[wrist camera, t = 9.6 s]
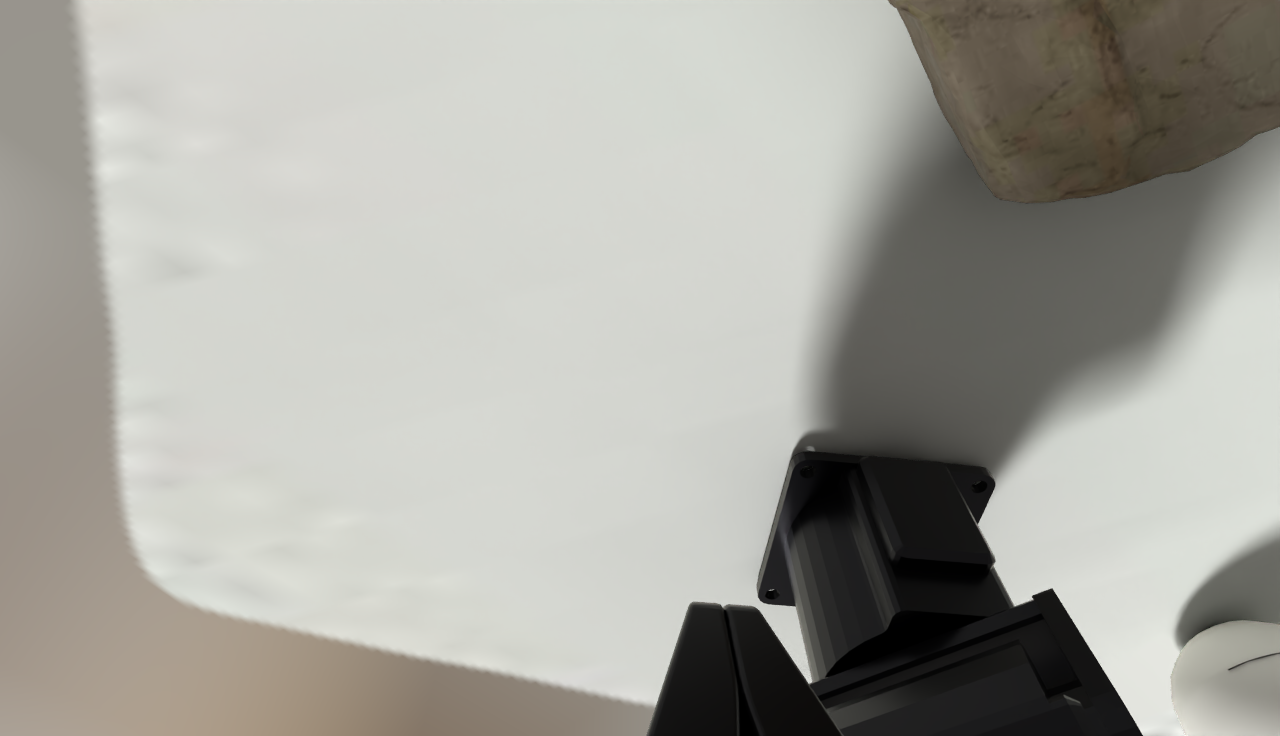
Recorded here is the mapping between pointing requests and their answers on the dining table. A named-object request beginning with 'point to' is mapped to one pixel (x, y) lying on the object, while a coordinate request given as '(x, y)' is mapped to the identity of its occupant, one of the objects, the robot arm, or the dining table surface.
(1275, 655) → the seamed sphere
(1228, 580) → the dining table surface
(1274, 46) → the marble piece
